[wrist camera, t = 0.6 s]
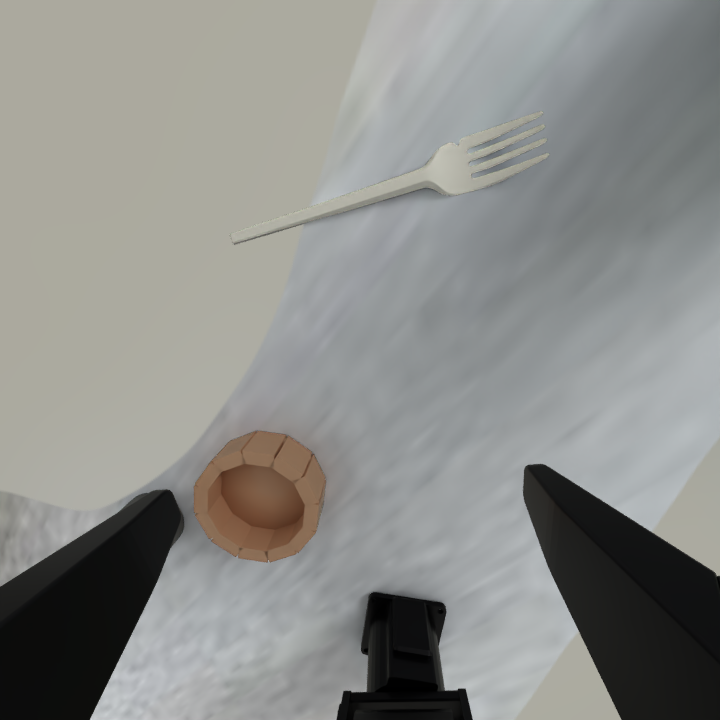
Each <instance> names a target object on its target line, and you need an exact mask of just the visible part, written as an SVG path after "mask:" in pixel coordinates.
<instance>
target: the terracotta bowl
mask: <svg viewBox="0 0 720 720" xmlns="http://www.w3.org/2000/svg"><path fill="white" fill-rule="evenodd" d="M325 484H326V480H325V476H324V474H323V472H322V470H321V468H320V466H319V464H318V462H317V460H316V458H315V456H314V454H313V455H312V452H311V451H310V450H308V449H307V448H305V447H304V446H302V445H301V444H300V443H298V442H297V441H295V440H294V439H292V438H291V437H290V436H288V437H286V435H284V434H277V433H270V432H263V431H258V432H257V433H256V431H254V432H252V433H249V434H247V435H244V436H241V437H239V438H236V439H234V440H231V441H230V442H228V444H227V445H226V446H225V447H224V448H223V449H222V450H221V451H220V452H219V453H218V454H217V456H216V457H215V458H214V459H213V460H212V461H211V462H210V463H209V465H208V466H207V468H206V469H205V470H204V472H203V473H202V475H201V476H200V477H199V479H198V480H197V482H196V483H195V486H194V513H196V514H195V516H196V518H197V520H198V521H199V523H200V525H201V526H202V528H203V530H204V531H205V533H206V535H207V536H208V538H209V539H211V538H213V539H212V540H211V541H212V542H213V543H215V544H216V545H218V546H219V547H221V548H223V549H224V550H226V551H227V552H229V553H230V554H232V555H233V556H235V557H236V556H237V555H238V558H241V559H247V560H254V561H260V562H268V560H269V562H273V561H276V560H279V559H282V558H286V557H289V556H292V555H295V554H296V553H297V552H298V553H299V551H300V550H301V549H302V548H303V547H304V546H305V545H306V543H307V542H308V541H309V540H310V539H311V538H312V537H313V535H314V534H315V533H316V530H317V527H318V523H319V519H320V515H321V511H322V507H323V503H324V493H325Z"/></svg>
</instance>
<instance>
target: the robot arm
mask: <svg viewBox="0 0 720 720" xmlns="http://www.w3.org/2000/svg"><path fill="white" fill-rule="evenodd" d="M523 496H524V501H525V504H526V507H527V510H528V512H529V515H530V518H531V521H532V524H533V526H534V529H535V532H536V535H537V537H538V540H539V543H540V546H541V549H542V551H543V554H544V557H545V559H546V562H547V565H548V567H549V569H550V572H551V574H552V576H553V578H554V580H555V583H556V585H557V587H558V589H559V591H560V593H561V595H562V597H563V599H564V601H565V603H566V605H567V607H568V610H569V612H570V614H571V616H572V618H573V620H574V622H575V624H576V626H577V628H578V630H579V632H580V634H581V637H582V639H583V641H584V643H585V645H586V646H587V649H588V651H589V653H590V655H591V657H592V659H593V661H594V664H595V665H596V668H597V670H598V672H599V674H600V676H601V678H602V680H603V682H604V684H605V686H606V688H607V691H608V692H609V695H610V697H611V699H612V701H613V703H614V705H615V707H616V709H617V711H618V713H619V715H620V717H621V719H622V720H720V576H716V573H715V572H713V571H712V570H710V569H709V568H707V567H706V566H704V565H702V564H701V563H699V562H698V561H696V560H695V559H693V558H691V557H690V556H688V555H687V554H685V553H684V552H682V551H680V550H679V549H677V548H676V547H674V546H673V545H671V544H669V543H668V542H666V541H665V540H663V539H661V538H660V537H658V536H657V535H655V534H654V533H652V532H651V531H649V530H647V529H646V528H644V527H643V526H641V525H639V524H638V523H636V522H635V521H633V520H632V519H630V518H628V517H627V516H625V515H624V514H622V513H621V512H619V511H617V510H616V509H614V508H613V507H611V506H610V505H608V504H606V503H605V502H603V501H602V500H600V499H598V498H597V497H595V496H594V495H592V494H591V493H589V492H587V491H586V490H584V489H583V488H581V487H580V486H578V485H576V484H575V483H573V482H572V481H570V480H569V479H567V478H565V477H564V476H562V475H561V474H559V473H557V472H556V471H554V470H553V469H551V468H550V467H548V466H546V465H544V464H533V465H527V466H526V467H525V469H524V484H523ZM180 521H181V512H180V509H179V507H178V505H177V502H176V500H175V497H174V495H173V493H172V492H171V491H170V490H167V489H166V490H155V491H152V492H150V493H149V494H147V495H145V496H144V497H142V498H141V499H139V500H137V501H136V502H134V503H133V504H131V505H129V506H128V507H126V508H125V509H123V510H122V511H120V512H118V513H117V514H115V515H114V516H112V517H110V518H109V519H107V520H106V521H104V522H102V523H101V524H99V525H98V526H96V527H94V528H93V529H91V530H90V531H88V532H87V533H85V534H83V535H82V536H80V537H79V538H77V539H75V540H74V541H72V542H71V543H69V544H67V545H66V546H64V547H63V548H61V549H60V550H58V551H56V552H55V553H53V554H52V555H50V556H48V557H47V558H45V559H44V560H42V561H40V562H39V563H37V564H36V565H34V566H33V567H31V568H29V569H28V570H26V571H25V572H23V573H21V574H20V575H18V576H17V577H15V578H13V579H12V580H10V581H9V582H7V583H5V584H4V585H2V586H1V587H0V720H90V718H91V716H92V714H93V712H94V710H95V708H96V706H97V704H98V702H99V700H100V698H101V696H102V694H103V692H104V690H105V687H106V685H107V683H108V681H109V679H110V677H111V675H112V673H113V671H114V669H115V667H116V665H117V663H118V661H119V659H120V657H121V655H122V653H123V651H124V649H125V647H126V645H127V643H128V641H129V639H130V637H131V635H132V632H133V630H134V628H135V626H136V624H137V622H138V620H139V618H140V616H141V614H142V612H143V610H144V608H145V606H146V604H147V602H148V600H149V598H150V596H151V594H152V592H153V589H154V587H155V585H156V583H157V581H158V578H159V576H160V573H161V571H162V568H163V566H164V563H165V561H166V558H167V556H168V553H169V550H170V548H171V545H172V543H173V540H174V538H175V535H176V532H177V530H178V527H179V525H180ZM439 609H440V610H439ZM445 616H446V606H445V605H444V604H443V603H441V602H434V601H428V600H422V599H415V598H409V597H402V596H396V595H390V594H383V593H377V592H373V593H371V594H370V595H369V600H368V606H367V612H366V618H365V625H364V631H363V637H362V643H361V652H362V653H363V654H365V655H368V674H367V692H351V691H344V692H343V697H342V702H341V704H340V705H339V710H338V715H337V720H473V719H472V715H471V710H470V706H469V702H468V697H467V693H466V689H458V690H453V691H445V688H444V681H443V674H442V667H441V660H440V654H439V647H438V646H439V642H440V637H441V633H442V629H443V625H444V620H445Z"/></svg>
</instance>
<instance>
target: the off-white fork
mask: <svg viewBox="0 0 720 720" xmlns="http://www.w3.org/2000/svg"><path fill="white" fill-rule="evenodd" d="M542 115H543V112H542V111H540V112H537V113H534V114H531V115H528V116H525V117H522V118H519V119H516V120H513V121H510V122H507V123H504V124H502V125H499V126H496V127H493V128H490V129H487V130H484V131H481V132H478V133H475V134H472V135H469V136H466V137H464V138H462V139H461V140H460V142H459V145H458V146H456V145H455V144H454V143H452V142H451V143H447V144H445V145H443V146H442V147H440V148H439V149H438V150H437V151H436V152H435V153H434V154H433V155H432V157H431V158H430V160H429V161H428V163H427V164H426V165H425V166H424V167H422V168H420V169H418V170H415V171H412V172H409V173H406V174H404V175H401V176H398V177H395V178H392V179H389V180H386V181H383V182H380V183H378V184H375V185H372V186H369V187H366V188H363V189H360V190H357V191H354V192H351V193H349V194H346V195H343V196H340V197H337V198H334V199H331V200H328V201H325V202H323V203H320V204H317V205H314V206H311V207H308V208H305V209H302V210H300V211H297V212H293V213H291V214H288V215H285V216H282V217H279V218H276V219H273V220H270V221H267V222H264V223H261V224H258V225H255V226H252V227H249V228H246V229H243V230H240V231H237V232H234V233H231V234H230V237H231V240H232V243H233V244H234V245H236V244H240V243H243V242H246V241H249V240H253V239H256V238H259V237H262V236H266V235H269V234H273V233H276V232H279V231H283V230H286V229H289V228H292V227H296V226H299V225H303V224H304V223H306V222H310V221H313V220H317V219H320V218H324V217H327V216H331V215H335V214H338V213H342V212H345V211H349V210H352V209H356V208H359V207H362V206H366V205H369V204H372V203H376V202H379V201H382V200H386V199H389V198H392V197H396V196H399V195H402V194H405V193H409V192H412V191H415V190H419V189H422V188H431V189H434V190H435V191H437V192H439V193H440V194H443V195H448V196H455V195H460V194H464V193H467V192H472V191H475V190H479V189H482V188H485V187H488V186H492V185H494V184H497V183H499V182H501V181H503V180H505V179H507V178H509V177H511V176H513V175H515V174H517V173H519V172H521V171H523V170H525V169H527V168H529V167H531V166H533V165H535V164H536V163H538V162H540V161H542V160H544V159H545V158H547V157H548V156H549V154H548V153H546V154H543V155H541V156H538V157H536V158H533V159H530V160H528V161H525V162H522V163H519V164H516V165H514V166H511V167H508V168H505V169H502V170H499V171H496V172H493V173H490V174H486V175H483V176H480V177H477V178H472V174H473V173H476V172H479V171H482V170H485V169H488V168H491V167H493V166H496V165H498V164H500V163H503V162H505V161H507V160H509V159H511V158H514V157H516V156H518V155H521V154H523V153H525V152H527V151H529V150H532V149H534V148H536V147H538V146H540V145H542V144H544V143H545V142H546V141H547V139H546V138H544V139H541V140H538V141H536V142H533V143H531V144H528V145H526V146H523V147H521V148H518V149H516V150H513V151H511V152H508V153H506V154H503V155H500V156H498V157H495V158H493V159H490V160H488V161H485V162H482V163H480V164H477V165H474V166H469V162H471V161H473V160H476V159H479V158H482V157H485V156H487V155H490V154H492V153H494V152H497V151H499V150H501V149H503V148H505V147H507V146H510V145H512V144H514V143H516V142H518V141H520V140H522V139H524V138H527V137H529V136H531V135H533V134H535V133H537V132H539V131H541V130H543V129H544V128H545V125H539V126H537V127H534V128H532V129H530V130H527V131H525V132H523V133H520V134H518V135H515V136H513V137H511V138H508V139H506V140H503V141H501V142H498V143H496V144H493V145H491V146H489V147H486V148H484V149H481V150H479V151H476V152H473V153H471V154H468V153H467V150H468V149H470V148H472V147H475V146H478V145H481V144H483V143H486V142H488V141H490V140H493V139H495V138H497V137H499V136H501V135H503V134H506V133H508V132H510V131H512V130H514V129H516V128H518V127H520V126H522V125H524V124H526V123H528V122H530V121H532V120H534V119H536V118H538V117H540V116H542Z"/></svg>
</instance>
